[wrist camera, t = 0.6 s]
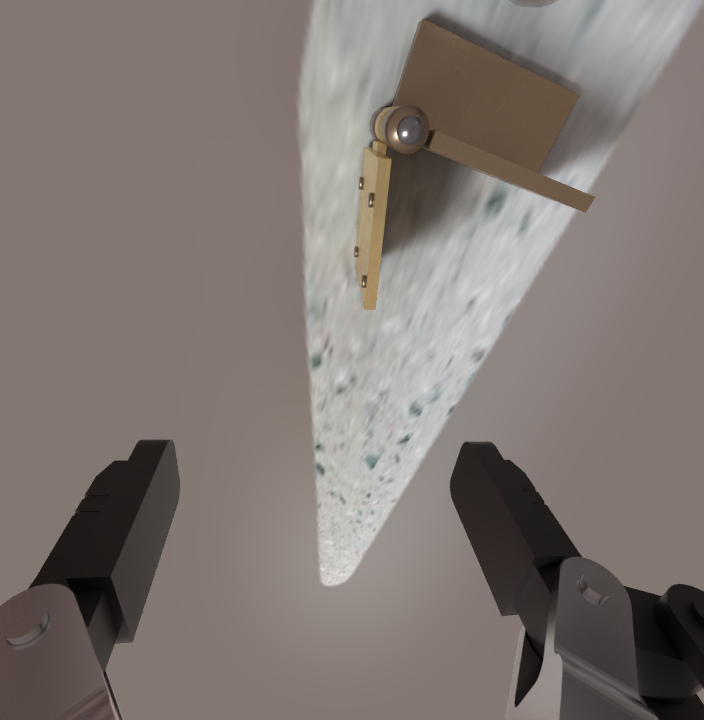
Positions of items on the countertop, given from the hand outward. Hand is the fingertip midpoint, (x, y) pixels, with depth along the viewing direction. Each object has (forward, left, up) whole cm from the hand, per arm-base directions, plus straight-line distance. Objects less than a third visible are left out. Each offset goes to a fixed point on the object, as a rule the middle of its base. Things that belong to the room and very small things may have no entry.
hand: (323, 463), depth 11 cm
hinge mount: (-14, -4, -27) cm, 31 cm away
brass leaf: (-5, -1, -27) cm, 27 cm away
